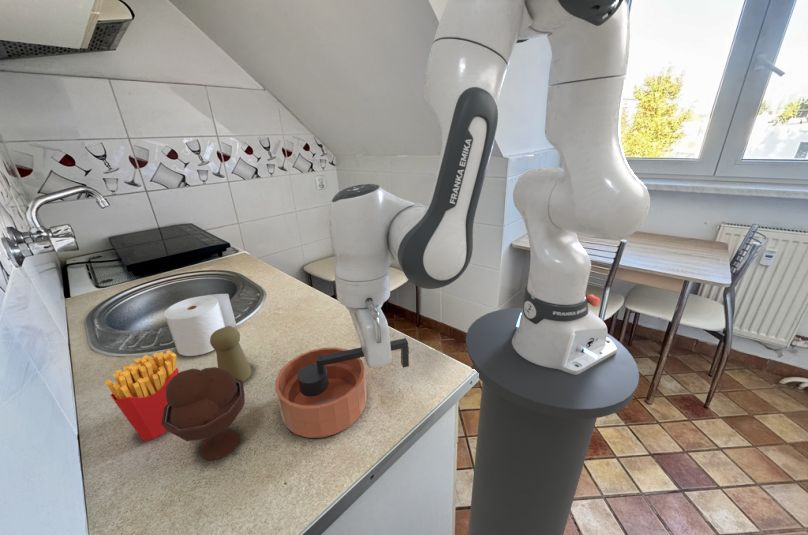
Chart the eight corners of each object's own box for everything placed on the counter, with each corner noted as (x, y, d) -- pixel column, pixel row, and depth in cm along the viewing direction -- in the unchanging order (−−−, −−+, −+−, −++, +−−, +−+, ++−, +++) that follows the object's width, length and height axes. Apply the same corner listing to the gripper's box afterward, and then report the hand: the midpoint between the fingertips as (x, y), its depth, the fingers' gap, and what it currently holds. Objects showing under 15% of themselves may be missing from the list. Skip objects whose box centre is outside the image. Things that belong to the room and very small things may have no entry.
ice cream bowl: (213, 490, 45) (182, 410, 39) (165, 460, 50) (130, 384, 44) (271, 431, 54) (252, 359, 48) (225, 409, 59) (203, 341, 53)
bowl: (358, 368, 68) (355, 340, 65) (375, 425, 55) (372, 393, 52) (283, 385, 64) (276, 357, 61) (281, 452, 51) (273, 419, 48)
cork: (249, 382, 65) (236, 337, 61) (216, 388, 63) (201, 342, 59) (253, 363, 70) (242, 320, 66) (223, 369, 69) (210, 325, 65)
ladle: (300, 399, 54) (295, 373, 52) (299, 379, 59) (294, 354, 56) (412, 372, 60) (412, 347, 58) (403, 356, 64) (403, 332, 62)
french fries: (138, 448, 52) (107, 386, 47) (129, 435, 54) (99, 374, 49) (199, 411, 58) (177, 352, 53) (188, 400, 61) (167, 344, 56)
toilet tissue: (166, 356, 73) (151, 318, 69) (200, 326, 84) (190, 292, 80) (210, 357, 72) (198, 319, 69) (239, 327, 83) (230, 293, 80)
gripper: (400, 314, 45) (402, 390, 50) (368, 262, 63) (372, 323, 68) (355, 322, 43) (362, 401, 48) (336, 266, 61) (342, 328, 66)
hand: (368, 354), depth 58 cm, fingers closed on ladle
